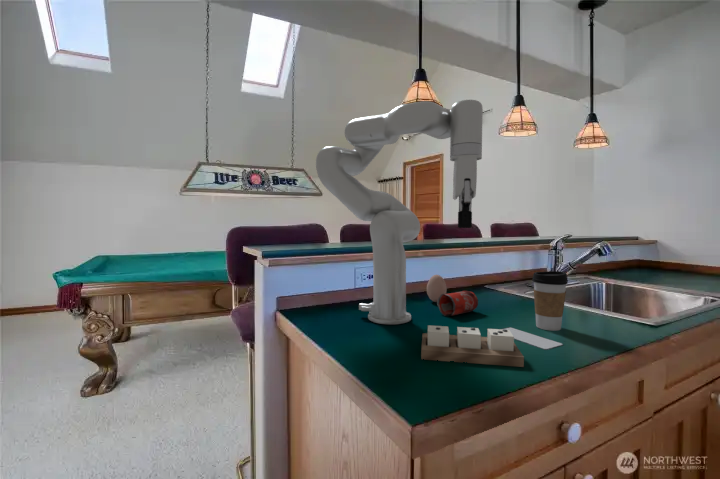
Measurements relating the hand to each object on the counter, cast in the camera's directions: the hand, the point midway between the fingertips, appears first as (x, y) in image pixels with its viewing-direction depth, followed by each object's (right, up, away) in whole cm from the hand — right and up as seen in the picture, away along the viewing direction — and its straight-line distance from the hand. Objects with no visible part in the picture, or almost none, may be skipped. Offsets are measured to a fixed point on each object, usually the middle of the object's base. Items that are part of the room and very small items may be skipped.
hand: (464, 227), depth 89 cm
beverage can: (+4, -26, +22) cm, 34 cm away
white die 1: (-9, -27, -10) cm, 30 cm away
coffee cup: (+25, -27, +7) cm, 37 cm away
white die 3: (+4, -27, -12) cm, 30 cm away
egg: (+1, -25, +36) cm, 44 cm away
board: (-3, -28, -11) cm, 30 cm away
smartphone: (+15, -28, -1) cm, 32 cm away
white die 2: (-3, -27, -11) cm, 29 cm away
